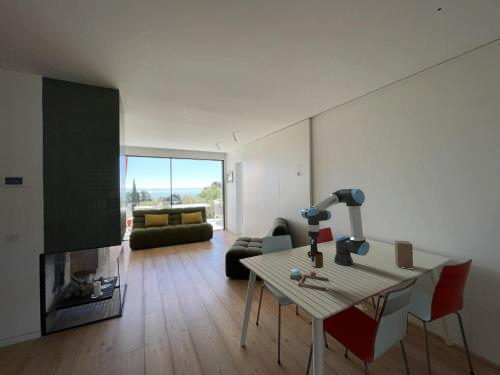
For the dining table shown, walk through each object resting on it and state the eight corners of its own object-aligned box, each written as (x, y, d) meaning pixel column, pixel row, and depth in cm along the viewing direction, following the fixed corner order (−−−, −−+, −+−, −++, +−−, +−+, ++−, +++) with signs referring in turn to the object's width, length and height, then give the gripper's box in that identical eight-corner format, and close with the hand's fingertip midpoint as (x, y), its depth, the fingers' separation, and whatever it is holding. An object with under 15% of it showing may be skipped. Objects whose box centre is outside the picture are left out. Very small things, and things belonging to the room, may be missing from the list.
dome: (292, 272, 152) (292, 268, 152) (300, 273, 150) (300, 269, 150) (290, 275, 147) (290, 271, 147) (299, 276, 144) (298, 272, 144)
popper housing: (292, 274, 153) (292, 272, 153) (301, 276, 150) (301, 273, 150) (289, 278, 146) (289, 275, 147) (299, 280, 143) (299, 277, 144)
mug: (304, 264, 143) (303, 250, 143) (311, 262, 147) (311, 249, 147) (318, 269, 132) (317, 255, 133) (325, 267, 136) (325, 253, 137)
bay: (303, 276, 150) (303, 274, 150) (328, 280, 143) (328, 278, 143) (298, 285, 135) (298, 283, 135) (326, 290, 127) (326, 288, 127)
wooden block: (395, 263, 172) (394, 240, 173) (410, 265, 168) (409, 241, 168) (397, 267, 163) (397, 242, 164) (413, 269, 159) (412, 244, 159)
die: (310, 275, 152) (309, 269, 152) (314, 275, 151) (314, 269, 151) (310, 277, 148) (310, 271, 148) (315, 277, 148) (315, 271, 148)
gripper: (310, 227, 150) (311, 258, 150) (305, 233, 132) (306, 268, 131) (321, 228, 147) (321, 259, 146) (317, 233, 128) (318, 270, 128)
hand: (314, 263), depth 139 cm, fingers closed on mug, 8 cm apart
